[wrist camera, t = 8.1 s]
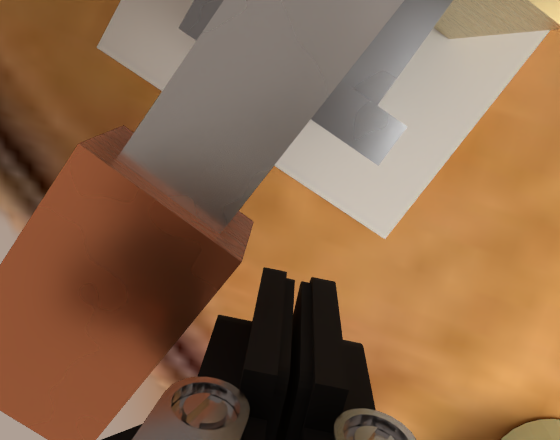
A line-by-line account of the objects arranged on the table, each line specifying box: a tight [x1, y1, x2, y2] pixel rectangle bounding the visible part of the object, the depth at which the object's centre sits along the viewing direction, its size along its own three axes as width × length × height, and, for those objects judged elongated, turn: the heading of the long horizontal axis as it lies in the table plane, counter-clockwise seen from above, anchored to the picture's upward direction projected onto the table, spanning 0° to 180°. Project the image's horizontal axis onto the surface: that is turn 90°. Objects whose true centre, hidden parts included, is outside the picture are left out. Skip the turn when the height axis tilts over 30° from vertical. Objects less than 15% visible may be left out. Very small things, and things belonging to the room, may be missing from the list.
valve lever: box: [0, 0, 404, 440], centre depth 8 cm, size 17×4×2 cm, turn 142°
